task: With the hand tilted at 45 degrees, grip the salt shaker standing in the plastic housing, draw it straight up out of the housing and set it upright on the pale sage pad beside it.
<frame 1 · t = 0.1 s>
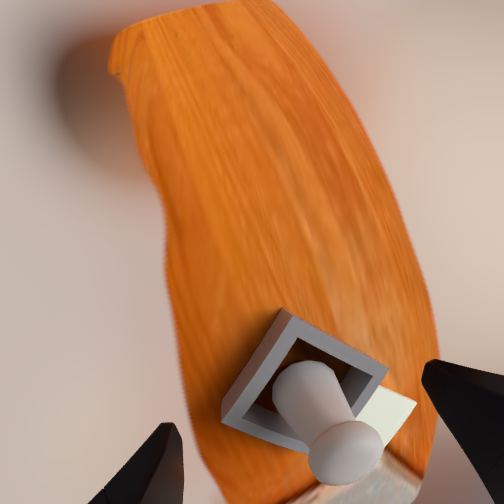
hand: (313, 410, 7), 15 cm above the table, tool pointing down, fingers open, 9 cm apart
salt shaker: (298, 380, 23), resting in housing
pad: (372, 420, 23), on the table
housing: (299, 381, 23), on the table
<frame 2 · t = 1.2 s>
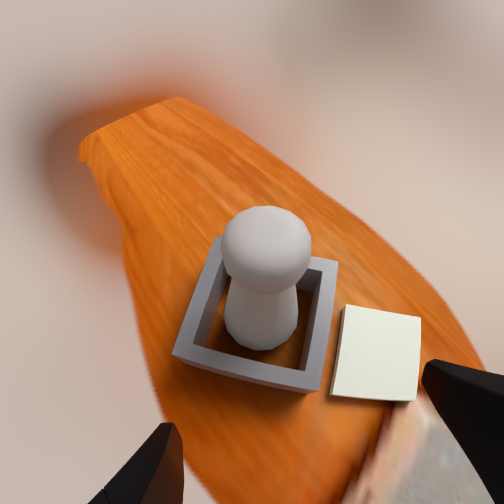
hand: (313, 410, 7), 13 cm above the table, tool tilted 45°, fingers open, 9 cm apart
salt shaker: (260, 324, 23), resting in housing
pad: (378, 356, 21), on the table
housing: (260, 323, 23), on the table
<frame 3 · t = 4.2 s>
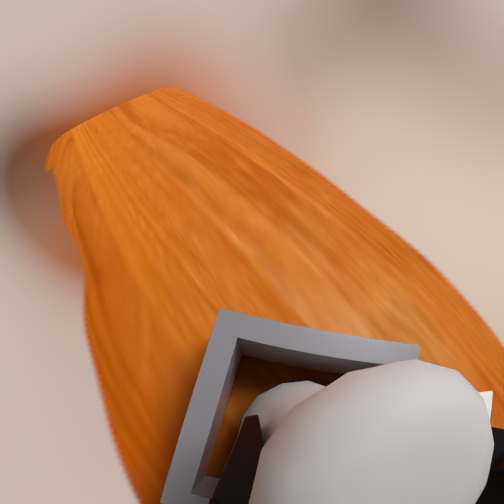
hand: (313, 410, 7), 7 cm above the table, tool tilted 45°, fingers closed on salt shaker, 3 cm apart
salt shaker: (292, 431, 13), resting in housing, touching gripper
housing: (292, 432, 13), on the table
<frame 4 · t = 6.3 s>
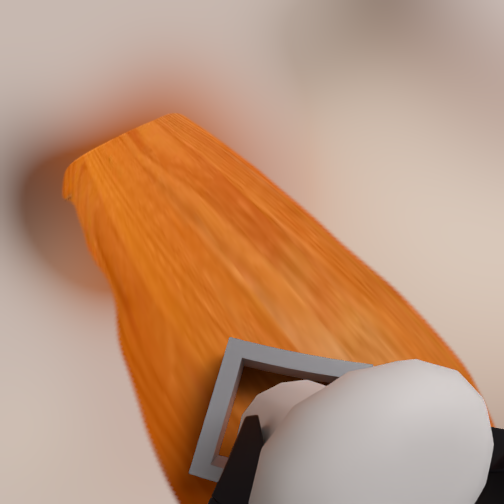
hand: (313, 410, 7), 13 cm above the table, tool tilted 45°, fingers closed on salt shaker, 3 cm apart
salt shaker: (291, 430, 13), point 6 cm above the table, touching gripper
housing: (280, 422, 18), on the table
when the fingers open (9 cm above the table, at t = 8.5 s): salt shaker drops 1 cm, resting on pad.
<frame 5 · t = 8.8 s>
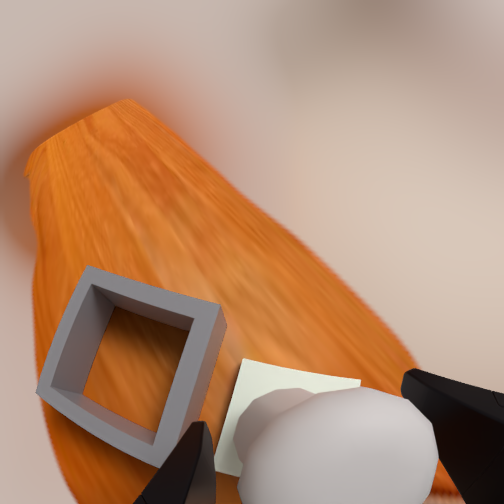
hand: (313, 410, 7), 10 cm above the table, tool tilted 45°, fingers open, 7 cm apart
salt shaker: (284, 433, 14), point 1 cm above the table, touching pad
pad: (287, 428, 15), on the table
housing: (138, 369, 17), on the table
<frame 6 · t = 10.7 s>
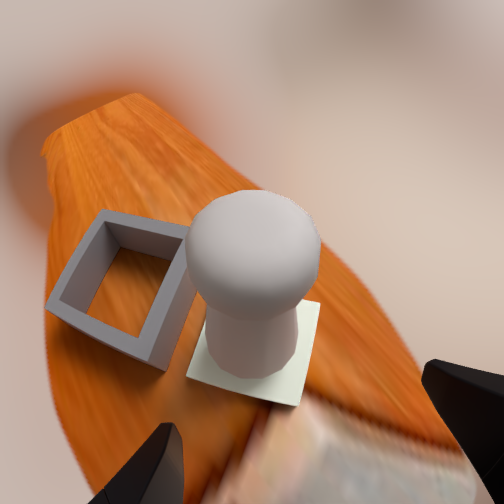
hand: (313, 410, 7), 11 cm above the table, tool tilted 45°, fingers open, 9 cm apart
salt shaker: (251, 344, 19), point 1 cm above the table, touching pad
pad: (256, 343, 19), on the table
housing: (135, 293, 22), on the table
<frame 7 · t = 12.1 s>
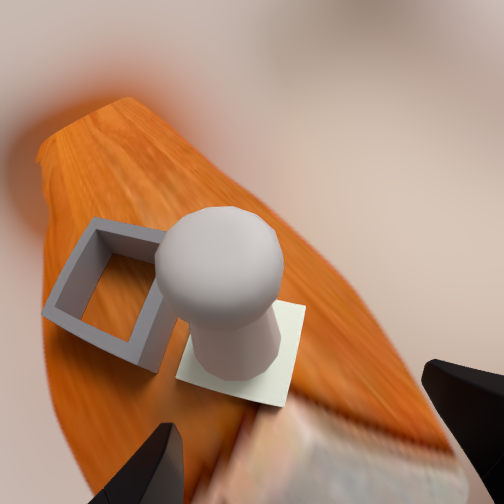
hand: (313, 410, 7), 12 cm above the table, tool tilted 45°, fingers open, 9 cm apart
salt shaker: (238, 347, 19), point 1 cm above the table, touching pad
pad: (243, 346, 20), on the table
housing: (127, 298, 22), on the table
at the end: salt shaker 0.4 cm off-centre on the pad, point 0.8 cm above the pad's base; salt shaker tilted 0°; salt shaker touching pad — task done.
